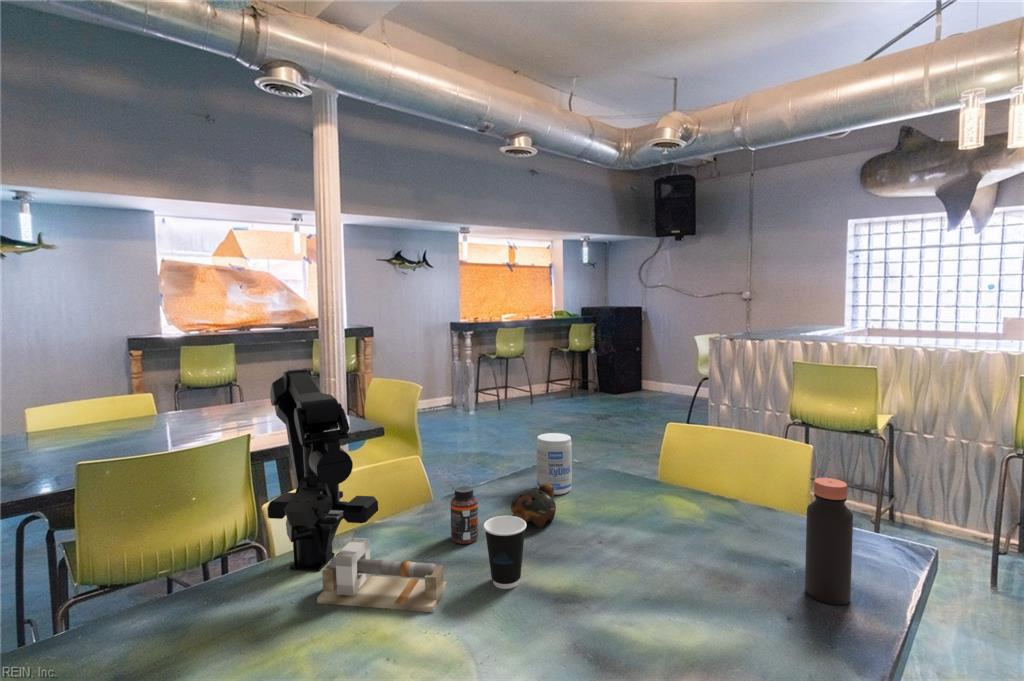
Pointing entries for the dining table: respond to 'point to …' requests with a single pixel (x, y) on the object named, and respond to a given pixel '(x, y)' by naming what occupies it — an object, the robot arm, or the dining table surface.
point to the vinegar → (829, 543)
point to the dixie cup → (505, 549)
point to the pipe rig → (389, 585)
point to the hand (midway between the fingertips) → (325, 552)
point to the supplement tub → (554, 461)
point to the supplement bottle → (464, 516)
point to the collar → (351, 566)
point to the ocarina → (535, 505)
